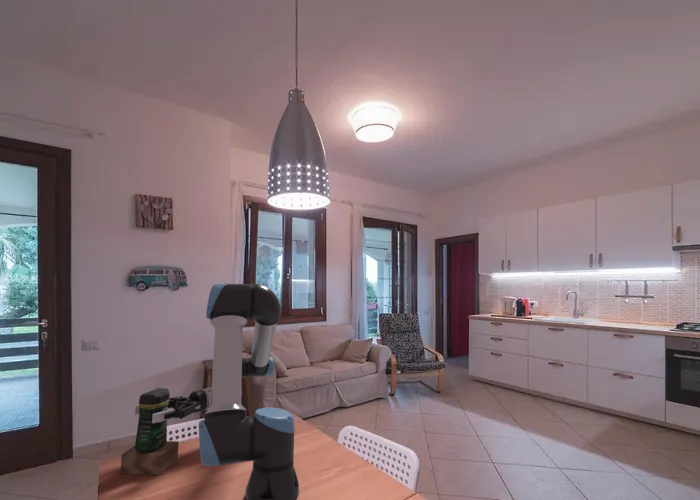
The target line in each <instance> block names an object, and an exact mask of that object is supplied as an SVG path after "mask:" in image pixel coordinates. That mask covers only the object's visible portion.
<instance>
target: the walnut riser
mask: <svg viewBox="0 0 700 500" xmlns="http://www.w3.org/2000/svg"><path fill="white" fill-rule="evenodd" d="M120 459H121V460H120V472H119V473H120V474H119V475H141V476H142V475H144V476H146V475H147V476H160V475H162V474H163V473H164V472H165V471H166V470H167V469H168V468H170V467H171V466H173V464H174V463H175V462H177V461H178V459H179V441H175V440H172V441H171V440H167V441H166V443H165V444H164V445H163V446H161V447H160V448H158V449H156V450H154V451H147V452H140V451H137V450H136V449H135V445H134V446H132V447H130V448H129V449H127V450H126V451H124V452H123V453H121V457H120Z"/></svg>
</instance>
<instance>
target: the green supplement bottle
mask: <svg viewBox="0 0 700 500" xmlns="http://www.w3.org/2000/svg"><path fill="white" fill-rule="evenodd" d="M170 395H171V394H170V391H169V389H168V388H165V387H164V388H163V387H158V388H155V389H153V390H150V391H148V392H144V393H142V394H141V395H140V396H139V400H138V405H139V414H138V421H137V429H136V437H135V444H134V446H135V449H136V450H137V451H140V452H147V451H154V450H156V449H158V448H160V447H161V446H163V445H164V444H165V443H166V441H168V440H167V437H168V435H167V434H168V429H167V427H168V423H167V422H168V420H164V421H160V422H157V423H152V418H153V414H155V413H159V412H163V411H167V410H169V408H168V403H169V398H170Z"/></svg>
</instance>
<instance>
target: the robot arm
mask: <svg viewBox="0 0 700 500" xmlns="http://www.w3.org/2000/svg"><path fill="white" fill-rule="evenodd" d="M205 316H206V319H208V320H210V325H211V326H212V327H213V328H214V341H213V358H212V359H213V360H212V376H211V386H210V387H207V388H202V389H198V390H194V391H192V392H190V393H189V396H188V397H187V396H185V397H184V396H182V395H181V396H175V397H169V403H168V409H167V411H163V412H159V413H155V414H153V418H152V423H157V422H160V421H164V420H167V421H168V420H171V419H180V420H182V419H183V418H186V417H188V416H189V415H191V414H193V413H194V414H196V413H200V412H203V411H206V412H205V413H204V417H203V418H204V419H202V420H200V421H199V422H198V439H199V441H198V443H199V455H200V462H201V464H202V465H203V466H204V467H215V466H217V467H221V466H225V465H231V464H240V463H246V462H252V470H251V472H250V475H249V478H248V482H247V485H246V488H245V497H244V498H245V500H297V498H298V496H299V494H300V483H299V480H298V475H297V472H296V470H295V466H294V459H295V452H294V451H295V432H296V429H295V417H294V415H293V414H292V412H290V411H288V410H287V409H283V408H280V407H261V408H258V409H256V410H255V411H254V413H253V415H252V416H251V415H248V416H247V408H245V406H243V405H242V396H243V395H242V394H243V390H242V389H243V388H242V384H243V383H242V381H243V380H242V379H243V378H257V377H267V376H268V377H269V376H273V374H274V368H275V364H274V363H275V360H274V358H273V357H272V356H271V355H272V349H273V343H274V338H275V334H276V333H275V332H276V328H277V324H278V322H279V321H280V320H281V316H282V307H281V303H280V300H279V298H278V296H277V294H275V292H274V291H273V290H272V289H271V288H269V287H267V286H266V285H264V284H260V283H227V282H225V283H215V284H213V285H212V287H211V288H210V291H209V295H208V298H207V307H206V312H205ZM248 319H253V320H254V322H255V324H254V330H253V337H252V339H253V340H252V347H251V355H250V357H247V358H246V357H243V330H244V329H243V328H244V327H245V326H246V325H247V324H248ZM133 410H134V412H133V414H134V415H139V404H138V405H134V409H133Z"/></svg>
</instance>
